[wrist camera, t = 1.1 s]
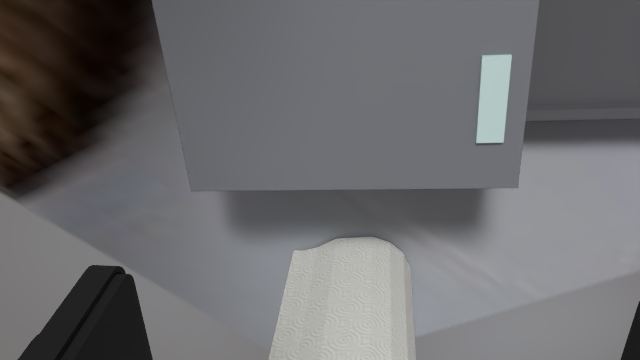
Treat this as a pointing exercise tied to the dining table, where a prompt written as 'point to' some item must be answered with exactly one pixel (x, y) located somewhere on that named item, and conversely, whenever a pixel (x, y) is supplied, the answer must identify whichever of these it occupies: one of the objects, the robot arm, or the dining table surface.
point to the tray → (585, 61)
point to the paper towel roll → (346, 304)
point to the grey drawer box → (349, 92)
